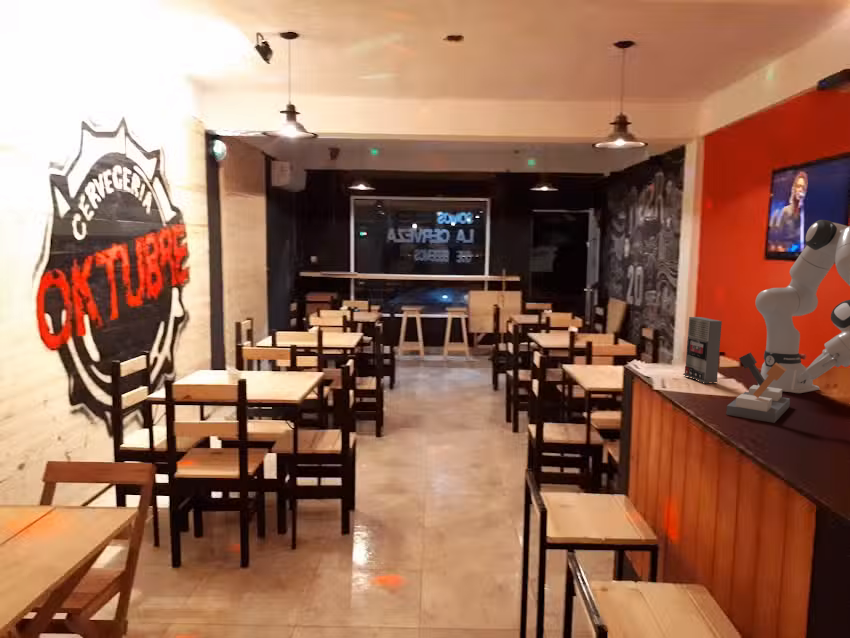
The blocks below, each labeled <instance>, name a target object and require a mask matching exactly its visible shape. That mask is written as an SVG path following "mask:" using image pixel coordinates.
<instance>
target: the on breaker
mask: <svg viewBox="0 0 850 638" xmlns="http://www.w3.org/2000/svg"><path fill="white" fill-rule="evenodd" d="M738 359H739V361H740V363H741V364H742V365H743V367H744V369H746V368H748V369H749V371H750V373H751V374H752V376H753V377H754V379H755V380H756V382H758V383H757V385H758V384H759V385H761V384H762V383H763V382H764V381H765V380H764V378H763V377H762V375H761V371H759V368H758V367H757V366H756V364H757V363H758V361H757V360H756V358H755V357H754V355H753V354H752V352H748V353H746V354H745V355H742V356H740V357H739V358H738Z"/></svg>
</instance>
